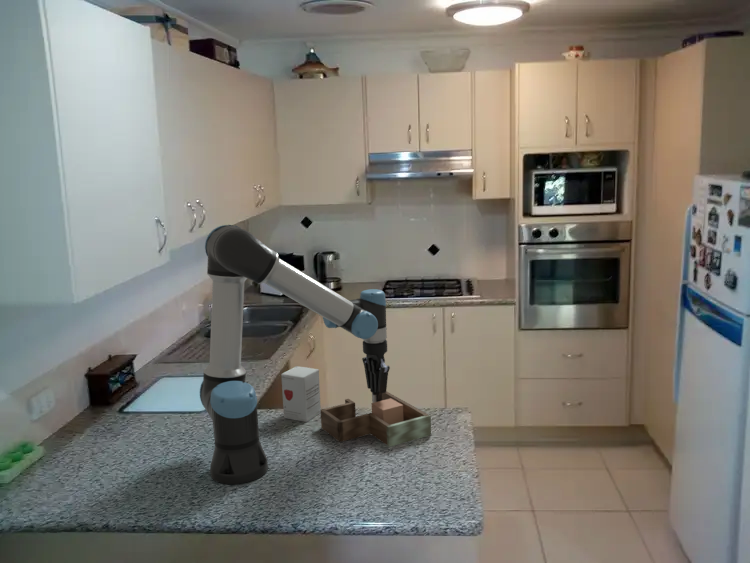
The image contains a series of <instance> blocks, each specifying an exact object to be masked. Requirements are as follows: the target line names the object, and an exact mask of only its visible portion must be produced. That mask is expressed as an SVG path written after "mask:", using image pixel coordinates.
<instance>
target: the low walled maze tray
mask: <svg viewBox="0 0 750 563" xmlns="http://www.w3.org/2000/svg"><path fill="white" fill-rule="evenodd" d="M390 398H391V399H393V400H395V401H397V402H398V403H400V404H402V405H403V420H404V421H403V422H399V423H395V424H392V425H389V424H388V423H386V422H385V421H383V420H382V419H380V418H378V417H377V416H375V415H374V414H372V412H369V413H370V414H371V415H370V434H369V435H371V436H373V437H374V438H376V439H377V440H378V441H380V442H381V443H383V444H385V446H387V447H389V448H392V447H395V446H397V445H402V444H405V443H409V442H411V441H415V440H419V439H422V438H426V437H429V436H432V422H431V421H432V420H431V418H432V417H431V416H432V415H430V414H428V413H426V412H425V411H423V410H421V409H419V408H417V407H415V406H413V405H412V404H410V403H408V402H407V401H405V400H403V399H401V398H399V397H397V395H394V394H392V393H391V392H388V391H387V390H386V393H383V394H382V400H386V399H390ZM344 401H345V402H344V404H346V403H350V402H352V405H353V404H354V405H353V406H352V409H353V411H352V412H354V413H352V414H353V415H354V416H353V415H352V416H353V417H357V413H356V402H354V401H353V400H351V399H350V398H345V399H344ZM353 407H354V408H353Z"/></svg>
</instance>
